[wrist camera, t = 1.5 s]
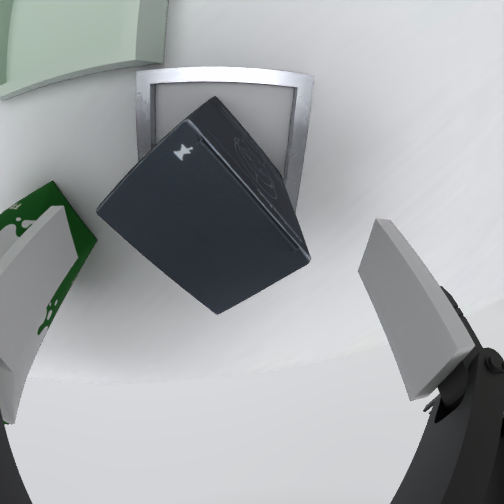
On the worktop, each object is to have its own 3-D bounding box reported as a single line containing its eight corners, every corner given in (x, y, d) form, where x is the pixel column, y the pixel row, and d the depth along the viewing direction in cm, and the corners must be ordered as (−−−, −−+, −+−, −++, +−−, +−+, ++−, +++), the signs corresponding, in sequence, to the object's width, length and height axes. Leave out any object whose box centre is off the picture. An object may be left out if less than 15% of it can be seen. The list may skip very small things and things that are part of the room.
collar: (151, 235, 23) (147, 243, 22) (142, 71, 15) (136, 71, 14) (286, 241, 24) (289, 249, 23) (310, 75, 16) (314, 75, 15)
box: (156, 145, 19) (90, 212, 10) (215, 94, 17) (188, 112, 8) (224, 217, 22) (216, 320, 14) (283, 176, 20) (316, 263, 12)
